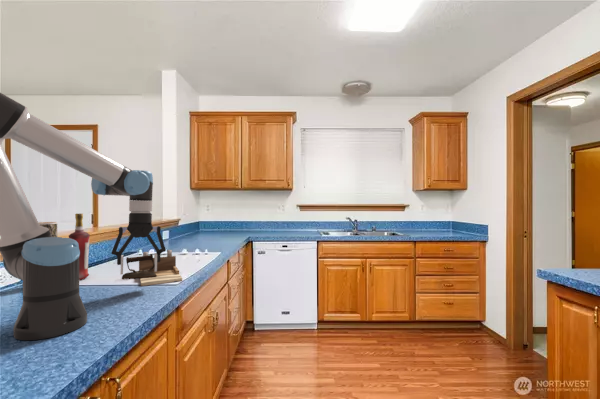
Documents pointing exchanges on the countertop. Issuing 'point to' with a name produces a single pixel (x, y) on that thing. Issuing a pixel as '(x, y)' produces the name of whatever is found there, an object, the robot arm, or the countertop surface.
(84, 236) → the liquor
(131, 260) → the clothes iron
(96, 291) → the countertop surface
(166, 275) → the cradle
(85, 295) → the countertop surface
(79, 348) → the countertop surface
